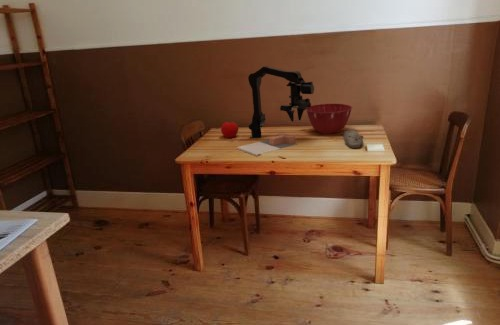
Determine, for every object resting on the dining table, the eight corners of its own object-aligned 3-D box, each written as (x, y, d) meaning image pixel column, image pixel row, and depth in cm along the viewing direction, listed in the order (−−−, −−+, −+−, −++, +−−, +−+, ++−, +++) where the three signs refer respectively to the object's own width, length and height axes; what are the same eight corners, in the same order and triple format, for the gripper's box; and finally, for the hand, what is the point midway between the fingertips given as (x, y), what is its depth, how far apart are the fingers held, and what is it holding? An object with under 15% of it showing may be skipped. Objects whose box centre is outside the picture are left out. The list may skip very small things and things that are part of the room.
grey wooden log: (358, 135, 238) (341, 136, 240) (357, 127, 237) (341, 128, 238) (366, 148, 205) (346, 149, 206) (365, 138, 203) (346, 140, 205)
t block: (265, 143, 224) (265, 136, 222) (281, 139, 230) (281, 132, 229) (278, 147, 214) (278, 140, 213) (294, 143, 220) (294, 136, 219)
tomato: (218, 139, 243) (217, 123, 240) (225, 134, 255) (224, 119, 252) (235, 139, 240) (234, 123, 237) (241, 134, 251) (240, 119, 248)
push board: (236, 148, 219) (236, 147, 219) (277, 139, 234) (277, 137, 234) (256, 156, 203) (256, 154, 203) (298, 145, 218) (298, 144, 218)
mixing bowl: (339, 139, 227) (340, 113, 222) (297, 134, 244) (297, 110, 239) (358, 128, 248) (359, 104, 243) (318, 125, 265) (318, 102, 260)
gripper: (291, 97, 209) (292, 125, 214) (317, 93, 218) (317, 120, 223) (279, 95, 218) (280, 122, 223) (304, 91, 227) (304, 117, 232)
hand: (296, 120), depth 225 cm, fingers open, 5 cm apart
